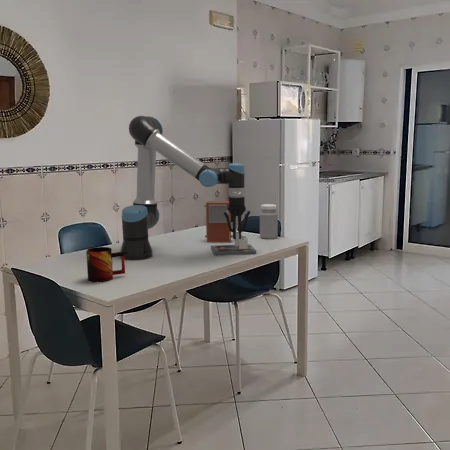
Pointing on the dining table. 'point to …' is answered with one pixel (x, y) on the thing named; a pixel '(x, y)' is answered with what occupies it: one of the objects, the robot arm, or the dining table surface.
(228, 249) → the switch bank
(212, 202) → the orange rectangular box
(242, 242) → the tab front
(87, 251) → the mug
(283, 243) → the dining table surface
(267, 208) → the jar
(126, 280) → the dining table surface
